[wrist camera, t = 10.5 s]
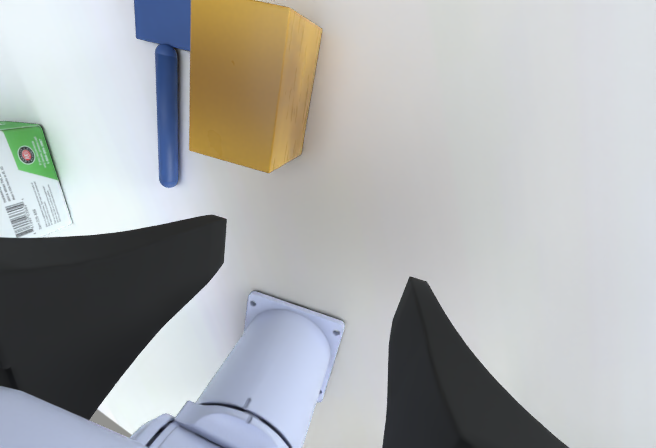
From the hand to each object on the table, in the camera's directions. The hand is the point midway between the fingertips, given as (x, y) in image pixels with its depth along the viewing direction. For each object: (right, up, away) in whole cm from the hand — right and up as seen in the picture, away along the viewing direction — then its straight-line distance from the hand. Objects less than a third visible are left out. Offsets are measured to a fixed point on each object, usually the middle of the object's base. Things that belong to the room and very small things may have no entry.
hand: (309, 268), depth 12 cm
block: (-2, +10, +7) cm, 12 cm away
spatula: (-9, +12, +8) cm, 17 cm away
